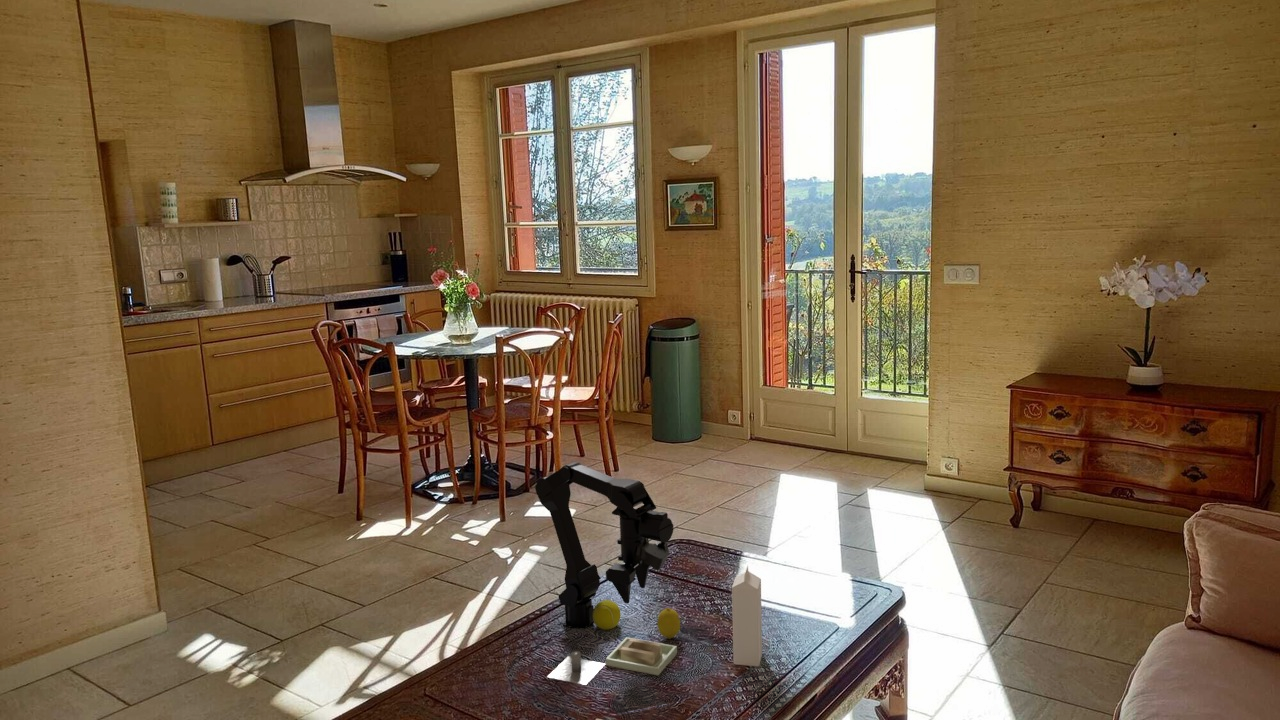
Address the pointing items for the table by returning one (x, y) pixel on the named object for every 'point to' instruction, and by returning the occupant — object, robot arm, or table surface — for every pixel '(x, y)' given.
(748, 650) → the milk
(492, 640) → the table surface
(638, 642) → the wooden rectangular frame
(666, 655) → the tray
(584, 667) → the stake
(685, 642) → the table surface
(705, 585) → the table surface
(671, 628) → the lemon
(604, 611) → the tennis ball
